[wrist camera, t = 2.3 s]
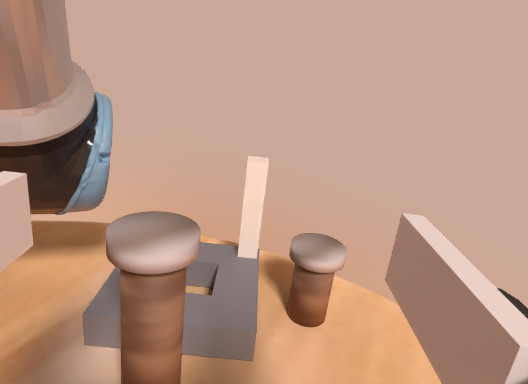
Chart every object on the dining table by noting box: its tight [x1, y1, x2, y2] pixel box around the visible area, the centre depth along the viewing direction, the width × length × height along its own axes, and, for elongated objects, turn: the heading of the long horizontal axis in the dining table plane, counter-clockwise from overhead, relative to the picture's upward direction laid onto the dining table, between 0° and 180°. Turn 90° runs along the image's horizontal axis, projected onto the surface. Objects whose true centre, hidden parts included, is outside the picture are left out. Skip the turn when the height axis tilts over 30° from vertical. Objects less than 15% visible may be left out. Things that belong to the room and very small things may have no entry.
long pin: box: [106, 211, 200, 384], centre depth 28 cm, size 6×6×16 cm
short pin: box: [287, 233, 347, 327], centre depth 43 cm, size 6×6×9 cm
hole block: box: [83, 156, 269, 361], centre depth 41 cm, size 16×16×16 cm
